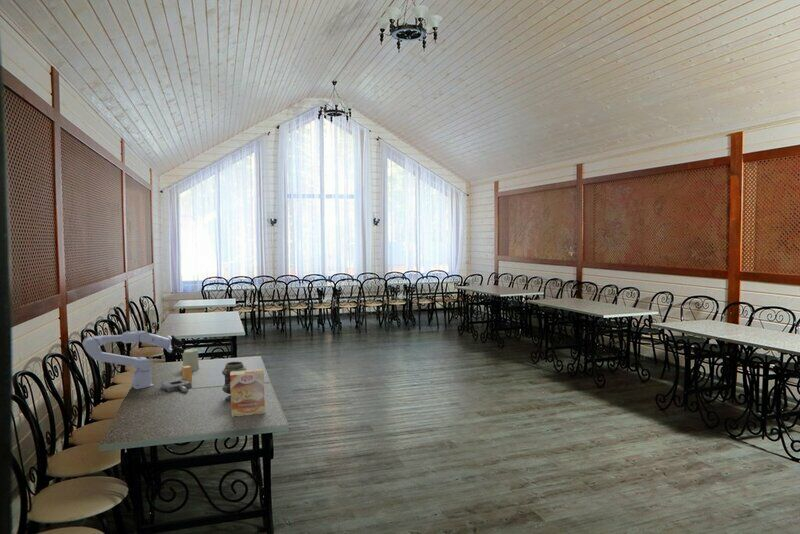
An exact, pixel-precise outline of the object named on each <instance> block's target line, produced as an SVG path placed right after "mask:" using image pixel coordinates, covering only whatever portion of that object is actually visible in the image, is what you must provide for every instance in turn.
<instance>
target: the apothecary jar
mask: <svg viewBox="0 0 800 534" xmlns="http://www.w3.org/2000/svg"><path fill="white" fill-rule="evenodd" d="M244 370H248V369H247V367H246V366H244V362H243V361H238V360H237V361H236V360H235V361H230V362H229V361H228V362H226V363H225V366H224V368H223V369H222V370H221V374H222V375H223V376H224V384H223V385H222V391H223V393H225V394H228V396H226V397H225V401H227V402H231V390H230V372H232V371H244Z"/></svg>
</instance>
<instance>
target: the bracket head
mask: <svg viewBox="0 0 800 534" xmlns="http://www.w3.org/2000/svg"><path fill="white" fill-rule="evenodd" d="M160 384H161V385H160V386H161V388H162V389H163V388H164V390H165V391H166V390H167V391H166V392H167V393H171V392H170V391H172V392H175V390H177V391H181V392H182V393H184V394H187V393H188V392H189V389H190V387H191V388H192V387H193V385H192V381H187V380H186V379H184V378H183V379H182V378H178V379H174V380H173V379H172V380H169V381H163V382H160Z"/></svg>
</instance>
